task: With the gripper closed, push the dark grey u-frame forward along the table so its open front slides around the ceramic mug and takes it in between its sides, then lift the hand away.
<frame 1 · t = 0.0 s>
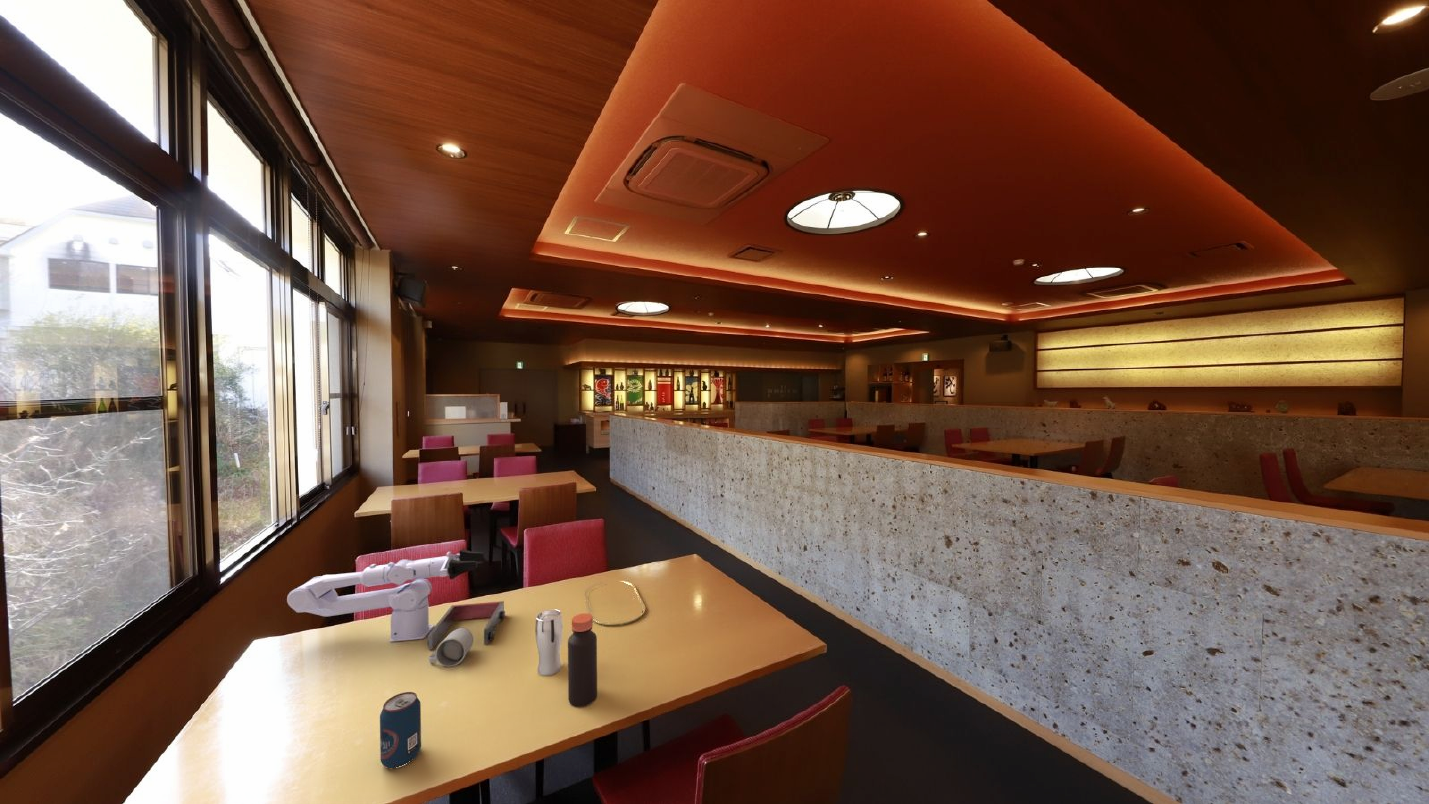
hand: (480, 560, 146), 22 cm above the table, tool horizontal, fingers open, 7 cm apart
bottle: (582, 699, 113), on the table
grey u-frame: (468, 623, 145), point 3 cm above the table, slide at 0.0 cm
ceramic mug: (450, 660, 130), on the table
beer glass: (549, 670, 125), on the table
soda can: (401, 759, 95), on the table
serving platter: (613, 604, 165), on the table
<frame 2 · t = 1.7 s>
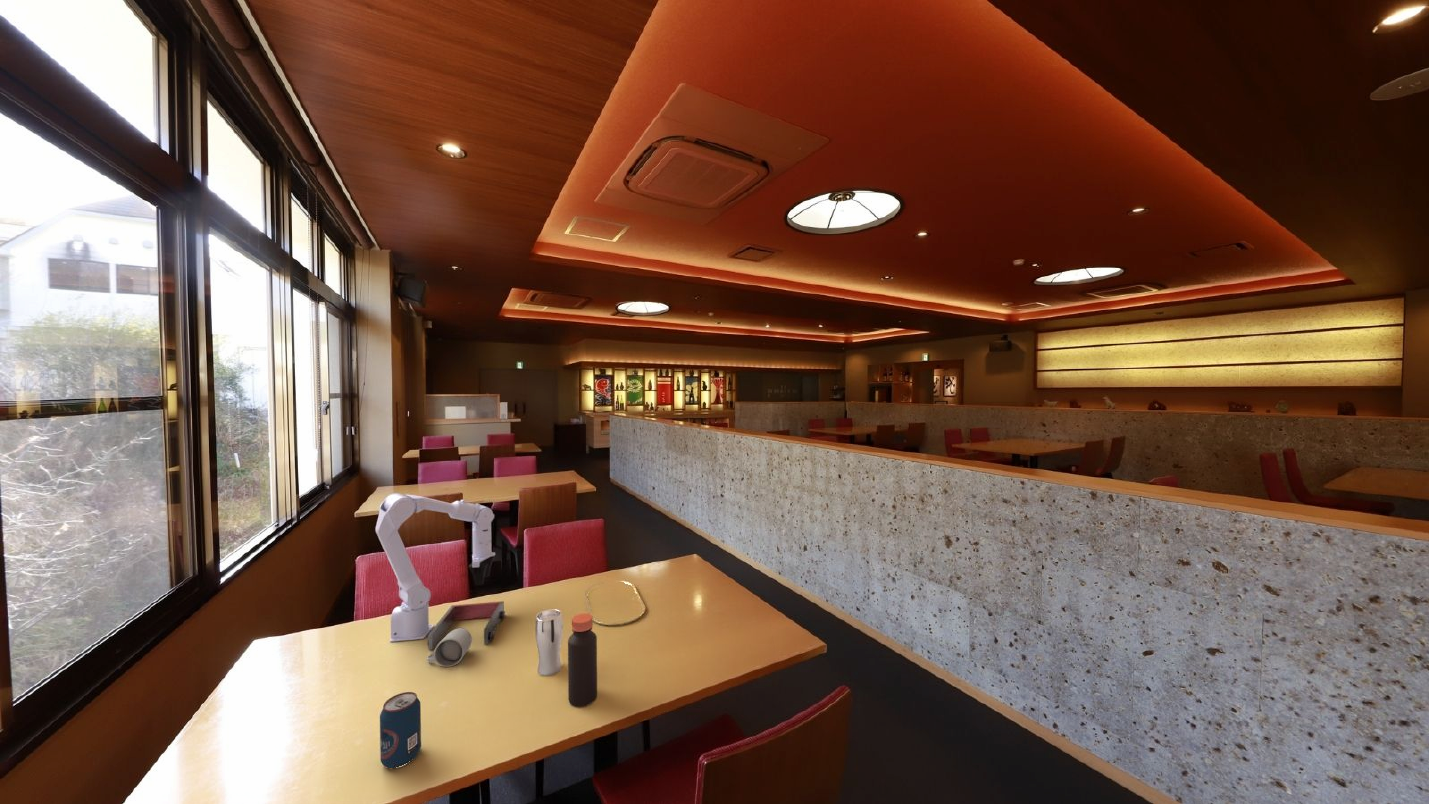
hand: (482, 580, 158), 10 cm above the table, tool pointing down, fingers open, 6 cm apart
nothing on the table moved.
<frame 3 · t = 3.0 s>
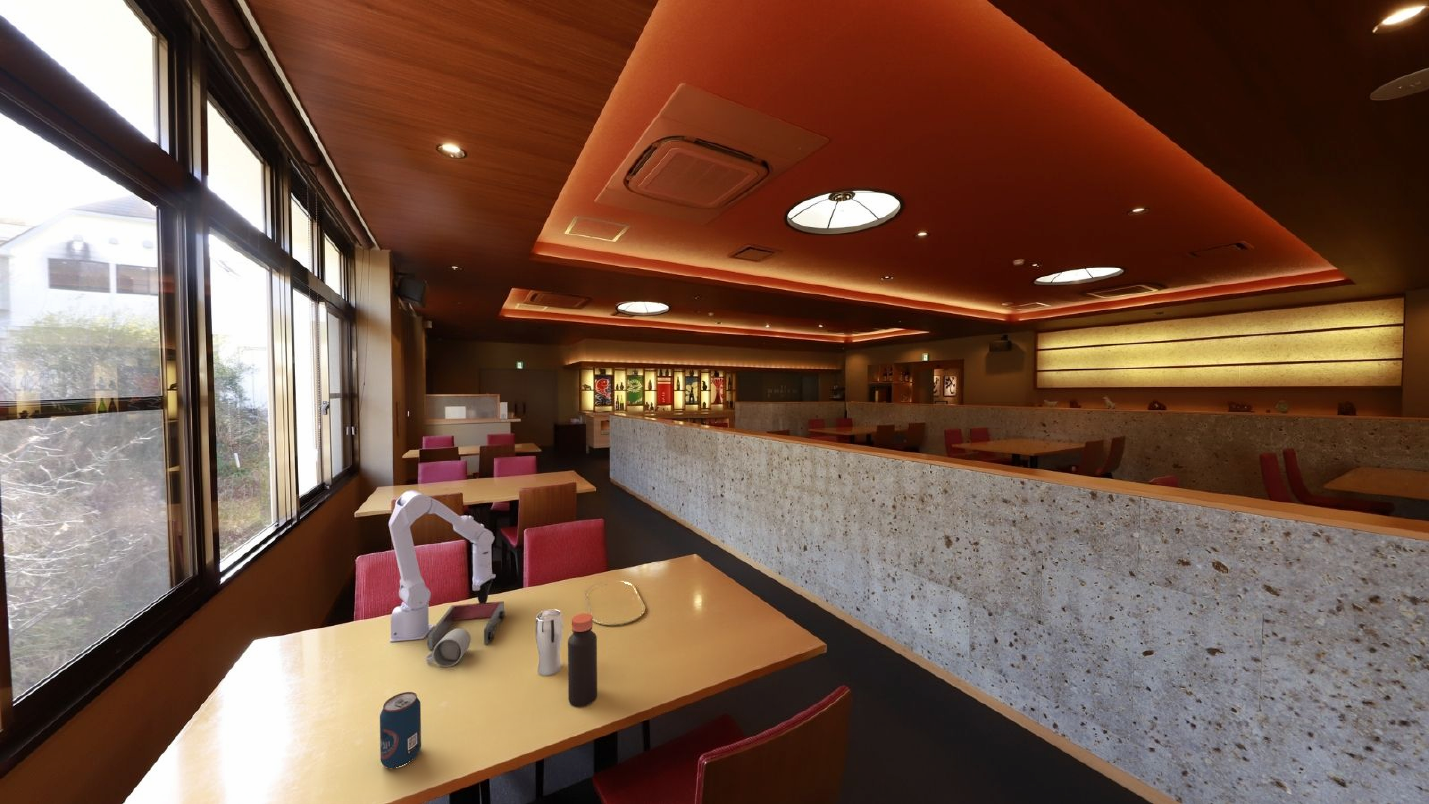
hand: (483, 602, 159), 3 cm above the table, tool pointing down, fingers closed
nothing on the table moved.
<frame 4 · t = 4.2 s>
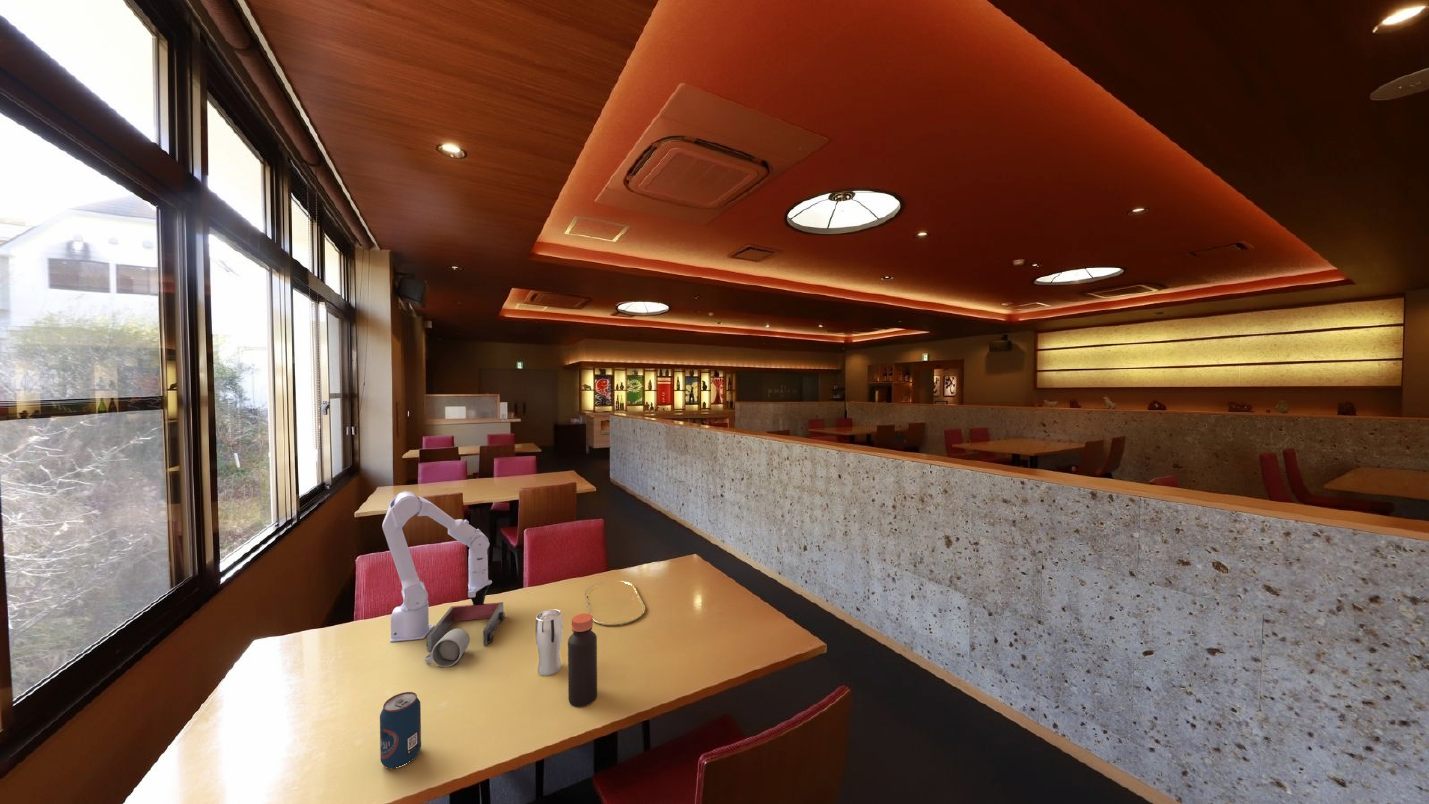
hand: (478, 609, 154), 2 cm above the table, tool pointing down, fingers closed
grey u-frame: (468, 624, 144), point 3 cm above the table, slide at 0.7 cm, touching gripper
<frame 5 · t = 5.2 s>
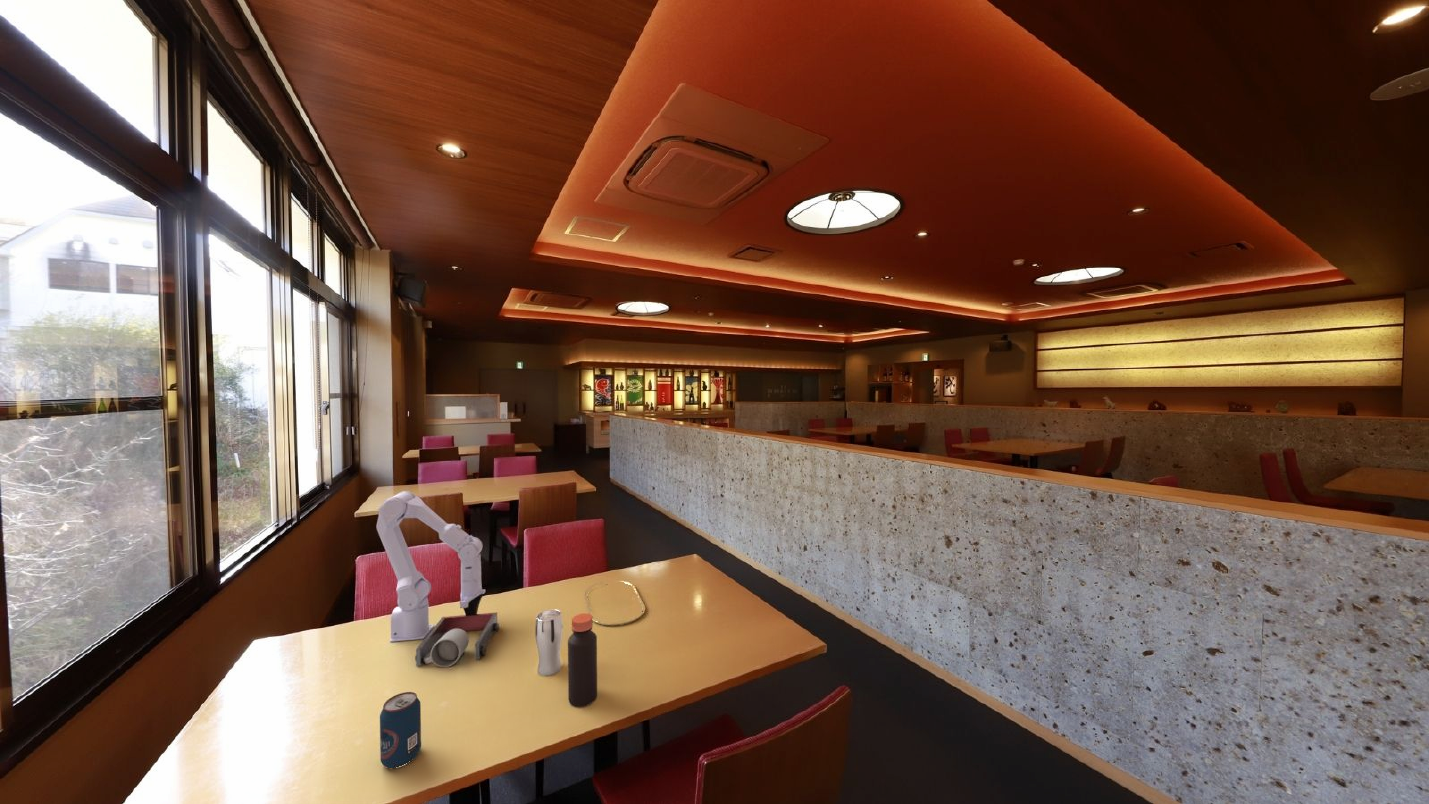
hand: (471, 620, 147), 2 cm above the table, tool pointing down, fingers closed
grey u-frame: (459, 637, 137), point 3 cm above the table, slide at 8.0 cm, touching gripper
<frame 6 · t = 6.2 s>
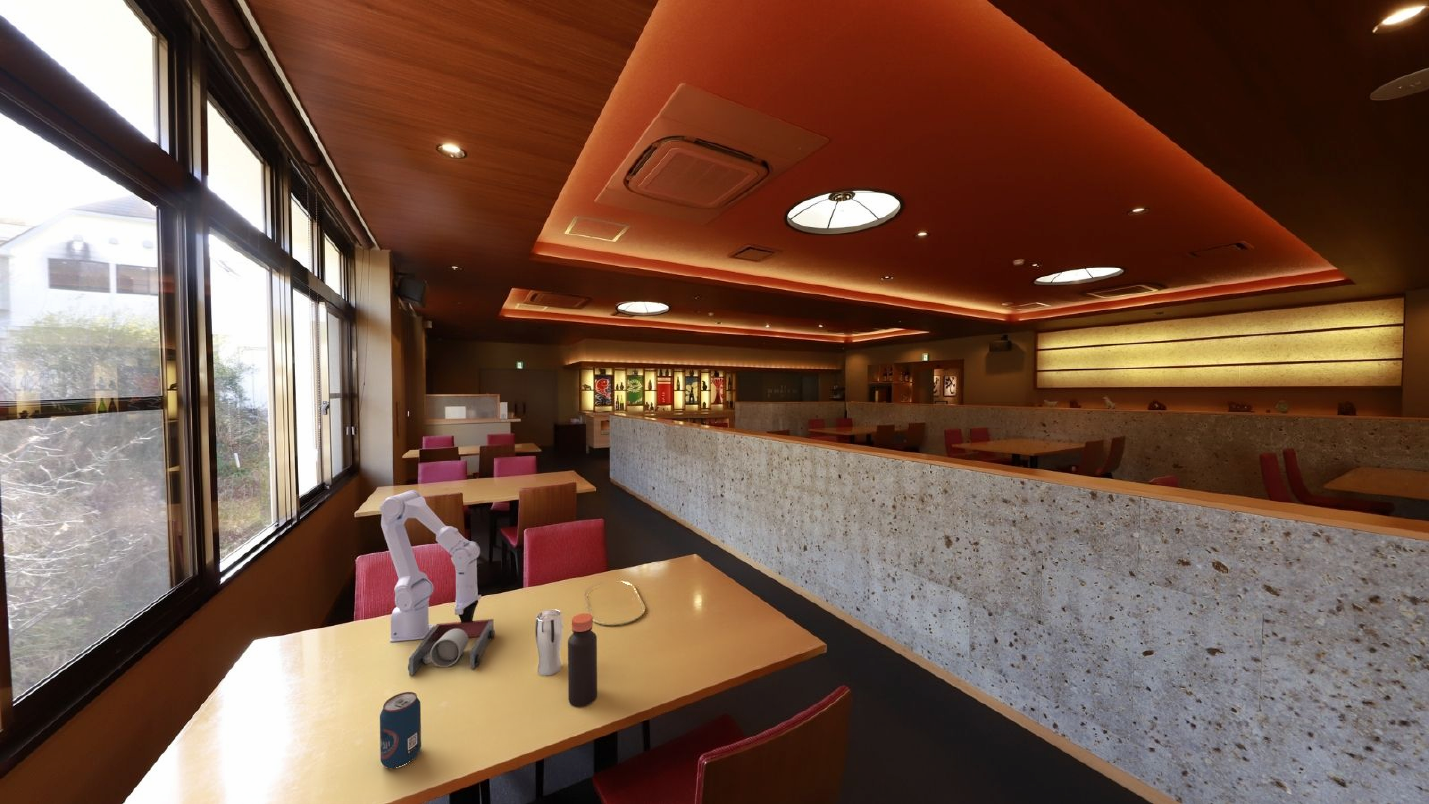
hand: (467, 626, 143), 2 cm above the table, tool pointing down, fingers closed
grey u-frame: (454, 644, 133), point 3 cm above the table, slide at 12.3 cm, touching gripper
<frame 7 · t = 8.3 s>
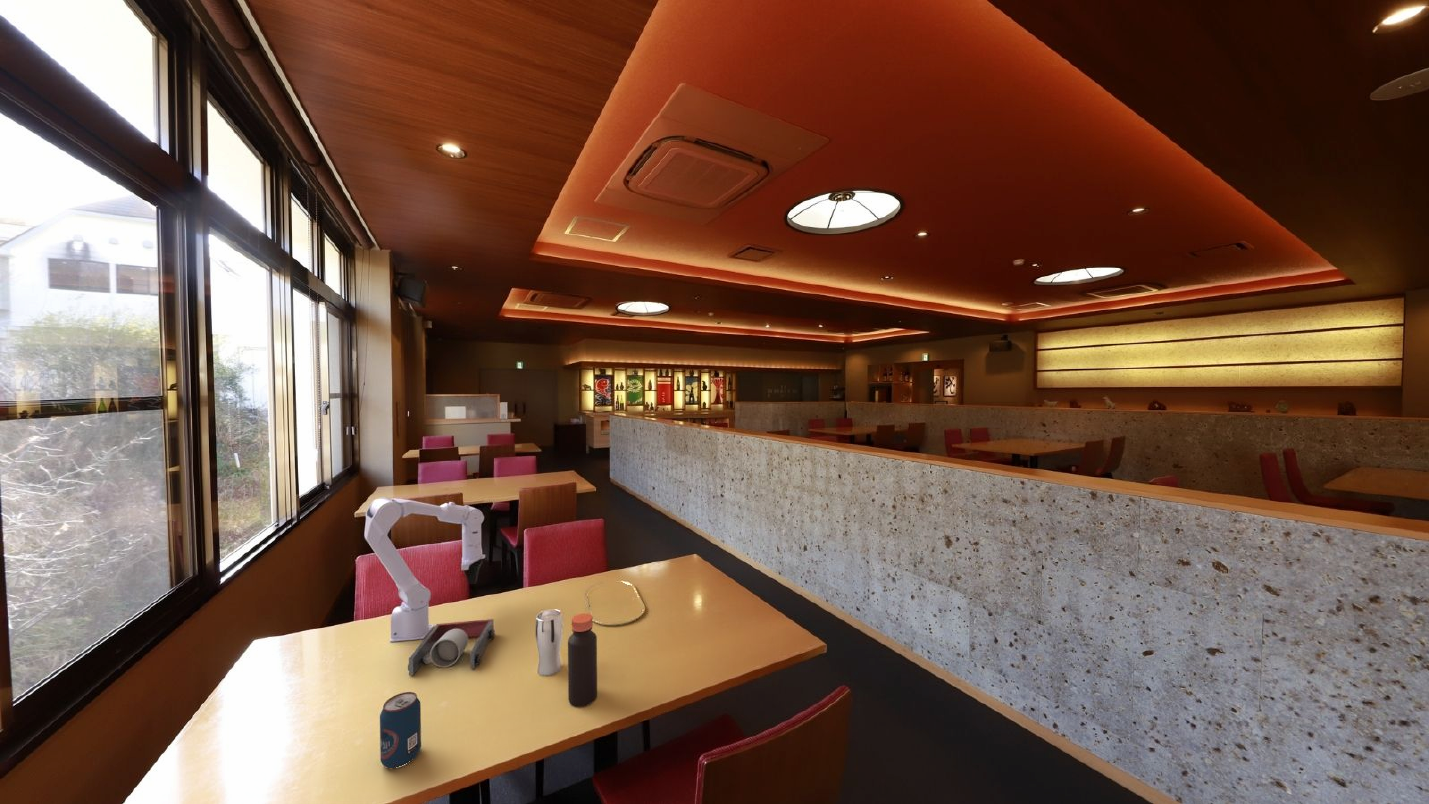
hand: (472, 583, 156), 10 cm above the table, tool pointing down, fingers closed
grey u-frame: (454, 645, 133), point 3 cm above the table, slide at 12.3 cm
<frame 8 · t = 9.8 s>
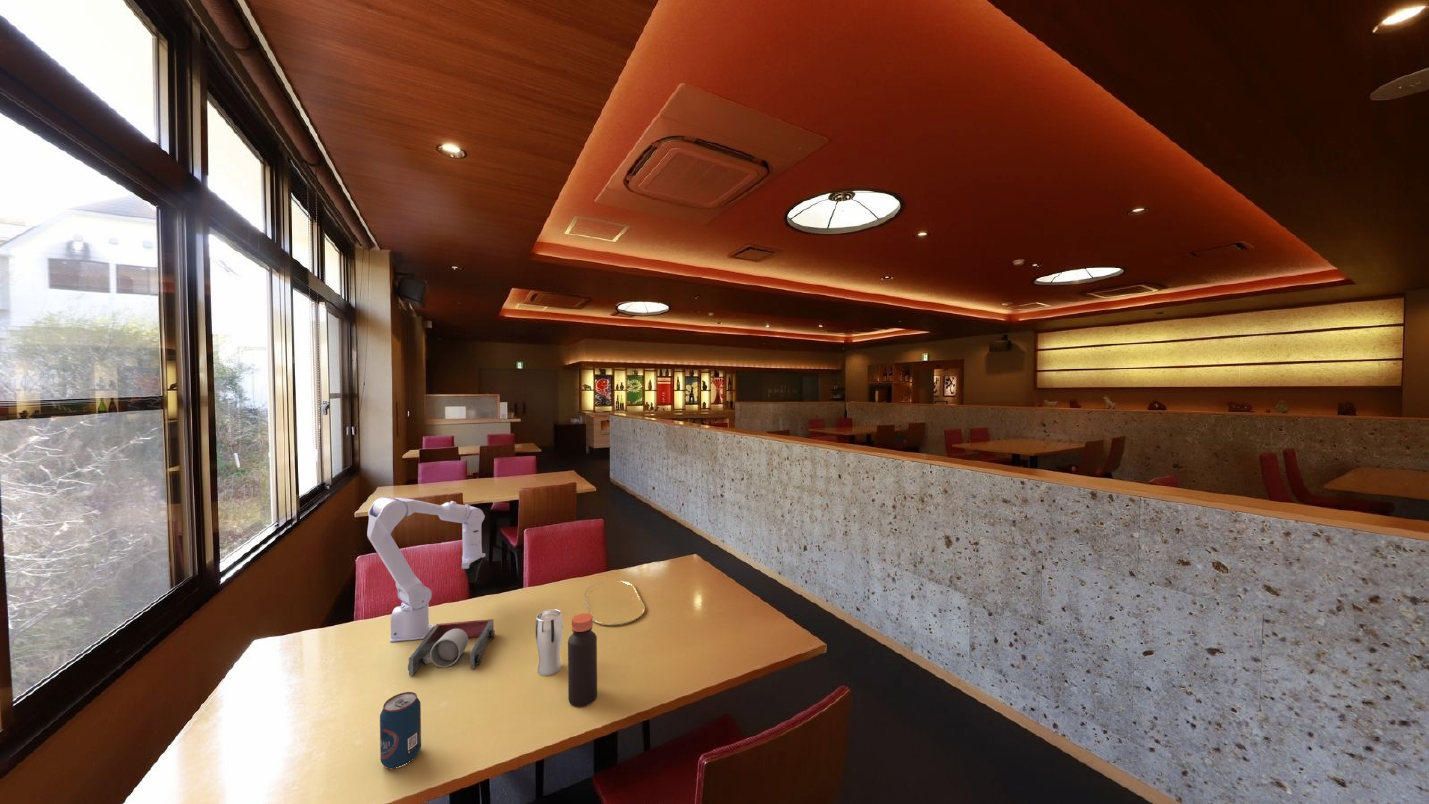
hand: (472, 581, 157), 10 cm above the table, tool pointing down, fingers closed
at the end: grey u-frame slide at 12.3 cm; ceramic mug 3.0 cm from the grey u-frame (horizontally); ceramic mug tilted 0° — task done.
